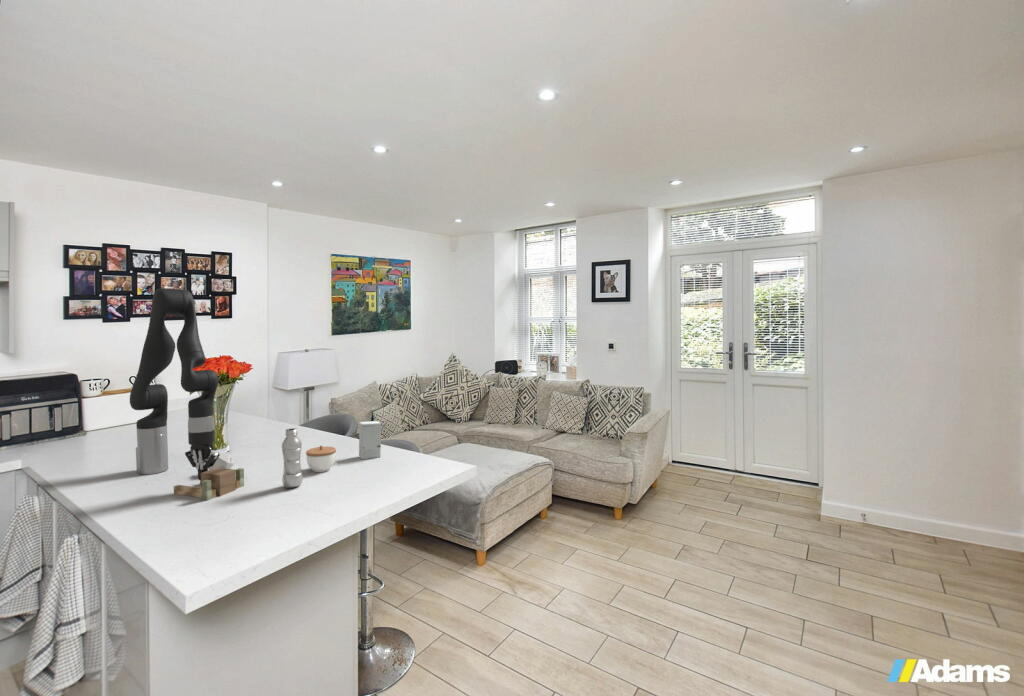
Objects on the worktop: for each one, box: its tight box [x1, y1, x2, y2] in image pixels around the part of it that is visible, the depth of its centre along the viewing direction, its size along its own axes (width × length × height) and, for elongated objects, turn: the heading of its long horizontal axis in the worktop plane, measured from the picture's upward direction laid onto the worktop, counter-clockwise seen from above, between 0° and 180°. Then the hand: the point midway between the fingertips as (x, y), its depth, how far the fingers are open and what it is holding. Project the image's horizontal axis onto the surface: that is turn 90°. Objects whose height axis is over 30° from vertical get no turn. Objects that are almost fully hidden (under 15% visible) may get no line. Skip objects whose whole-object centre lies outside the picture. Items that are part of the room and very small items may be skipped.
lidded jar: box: [305, 445, 337, 473], centre depth 182 cm, size 11×11×9 cm
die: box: [208, 451, 236, 470], centre depth 178 cm, size 8×9×10 cm
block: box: [200, 468, 237, 497], centre depth 158 cm, size 8×6×7 cm
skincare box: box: [358, 420, 382, 460], centre depth 200 cm, size 8×6×15 cm
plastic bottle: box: [281, 427, 303, 489], centre depth 163 cm, size 6×7×20 cm
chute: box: [173, 467, 245, 501], centre depth 160 cm, size 16×14×6 cm
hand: (203, 479), depth 160 cm, fingers closed
